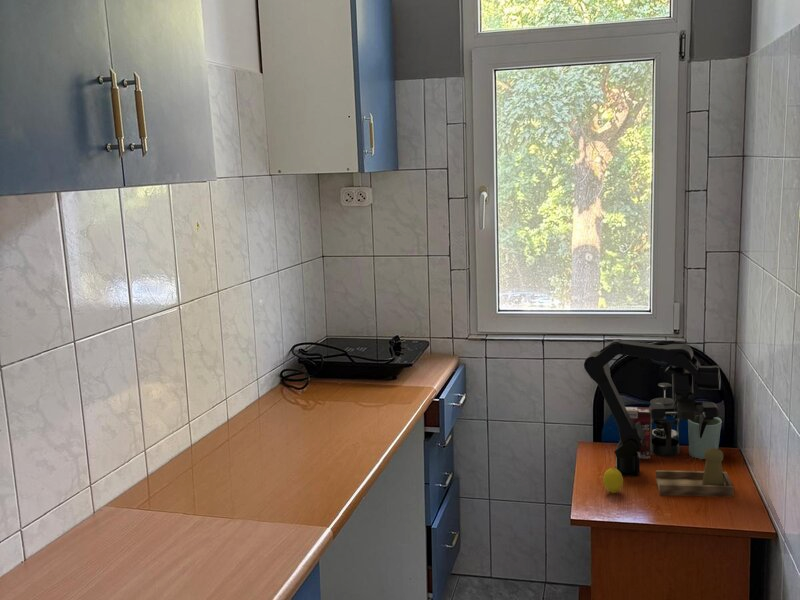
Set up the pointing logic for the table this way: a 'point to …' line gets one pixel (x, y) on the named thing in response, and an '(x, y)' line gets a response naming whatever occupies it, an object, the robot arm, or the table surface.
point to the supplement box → (645, 419)
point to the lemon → (613, 480)
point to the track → (691, 484)
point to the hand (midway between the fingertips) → (684, 438)
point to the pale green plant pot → (703, 436)
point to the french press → (659, 433)
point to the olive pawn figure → (713, 467)
